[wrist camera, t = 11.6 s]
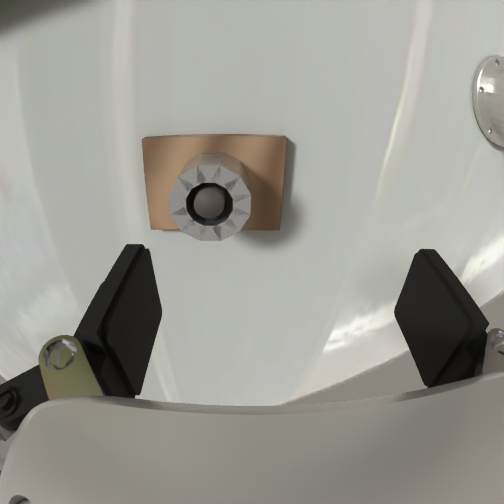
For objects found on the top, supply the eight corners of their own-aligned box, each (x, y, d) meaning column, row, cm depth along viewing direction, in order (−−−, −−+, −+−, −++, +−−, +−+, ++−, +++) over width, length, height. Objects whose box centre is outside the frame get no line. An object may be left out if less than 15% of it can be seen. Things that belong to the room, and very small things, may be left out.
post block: (284, 136, 28) (296, 149, 23) (278, 225, 34) (285, 255, 28) (145, 137, 28) (124, 151, 22) (153, 224, 33) (138, 254, 28)
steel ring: (249, 151, 28) (252, 165, 24) (247, 216, 32) (249, 240, 27) (177, 152, 28) (166, 166, 23) (181, 216, 31) (172, 240, 27)
